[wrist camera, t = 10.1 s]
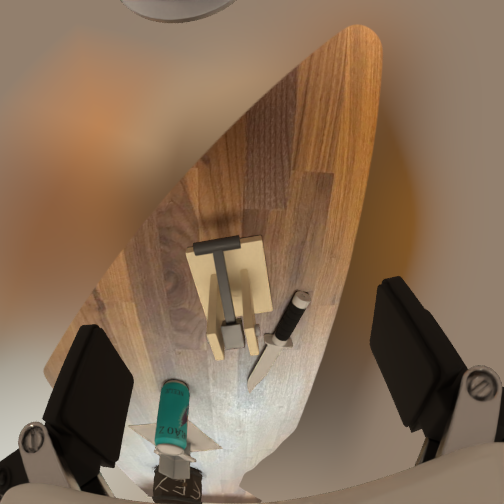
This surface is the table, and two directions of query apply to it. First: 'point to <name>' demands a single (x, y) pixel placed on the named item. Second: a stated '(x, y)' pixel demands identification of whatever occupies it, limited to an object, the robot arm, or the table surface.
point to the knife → (279, 338)
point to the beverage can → (172, 419)
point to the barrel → (177, 489)
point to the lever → (224, 288)
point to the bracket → (233, 290)
